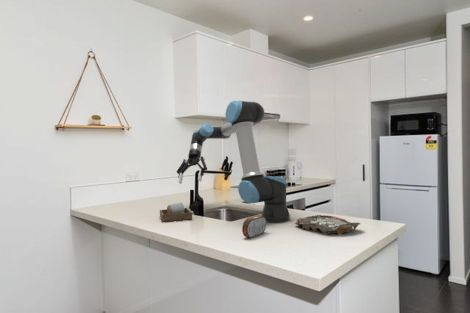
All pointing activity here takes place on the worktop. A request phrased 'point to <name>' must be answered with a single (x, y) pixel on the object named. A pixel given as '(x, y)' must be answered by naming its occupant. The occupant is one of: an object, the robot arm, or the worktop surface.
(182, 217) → the walnut box
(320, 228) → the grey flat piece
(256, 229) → the tin
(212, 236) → the worktop surface
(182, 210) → the ceramic mug
